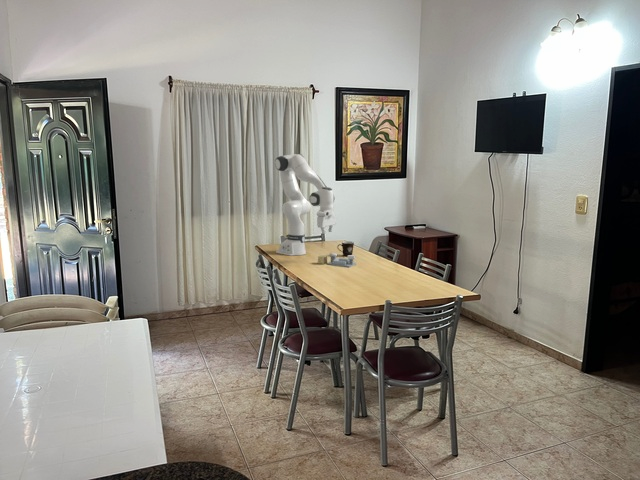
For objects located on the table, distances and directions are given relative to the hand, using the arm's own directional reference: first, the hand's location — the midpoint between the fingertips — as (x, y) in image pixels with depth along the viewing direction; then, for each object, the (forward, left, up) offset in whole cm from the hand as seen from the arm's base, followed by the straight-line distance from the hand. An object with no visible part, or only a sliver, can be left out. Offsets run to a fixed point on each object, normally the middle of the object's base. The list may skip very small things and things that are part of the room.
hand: (326, 232), depth 330 cm
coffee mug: (+1, +28, -21) cm, 35 cm away
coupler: (-1, -3, -21) cm, 21 cm away
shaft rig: (+11, +2, -21) cm, 23 cm away
